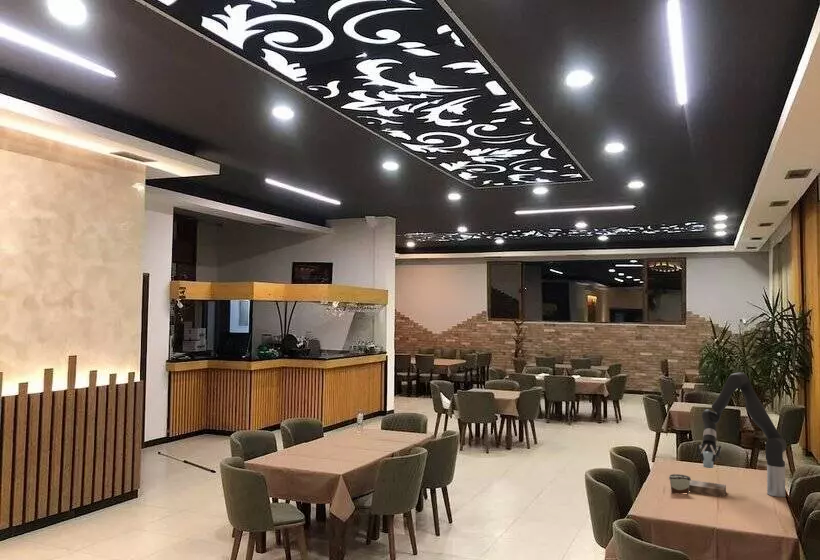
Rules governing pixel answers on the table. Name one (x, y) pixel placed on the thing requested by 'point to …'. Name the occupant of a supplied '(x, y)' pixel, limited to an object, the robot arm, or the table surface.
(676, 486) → the food container
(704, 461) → the ceramic jar
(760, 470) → the table surface
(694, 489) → the walnut stand
